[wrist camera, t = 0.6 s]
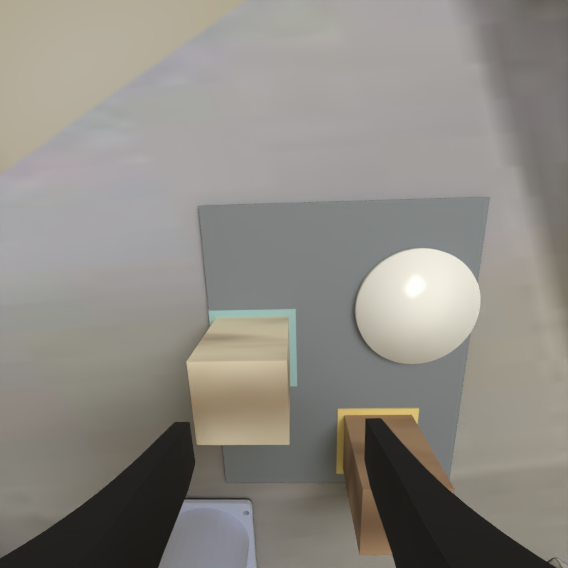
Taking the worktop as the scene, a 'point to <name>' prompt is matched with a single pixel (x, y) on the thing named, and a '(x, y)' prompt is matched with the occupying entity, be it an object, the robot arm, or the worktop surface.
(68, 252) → the worktop surface
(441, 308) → the white flat disc
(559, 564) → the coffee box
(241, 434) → the beech block
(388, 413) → the grey board
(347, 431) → the walnut block
